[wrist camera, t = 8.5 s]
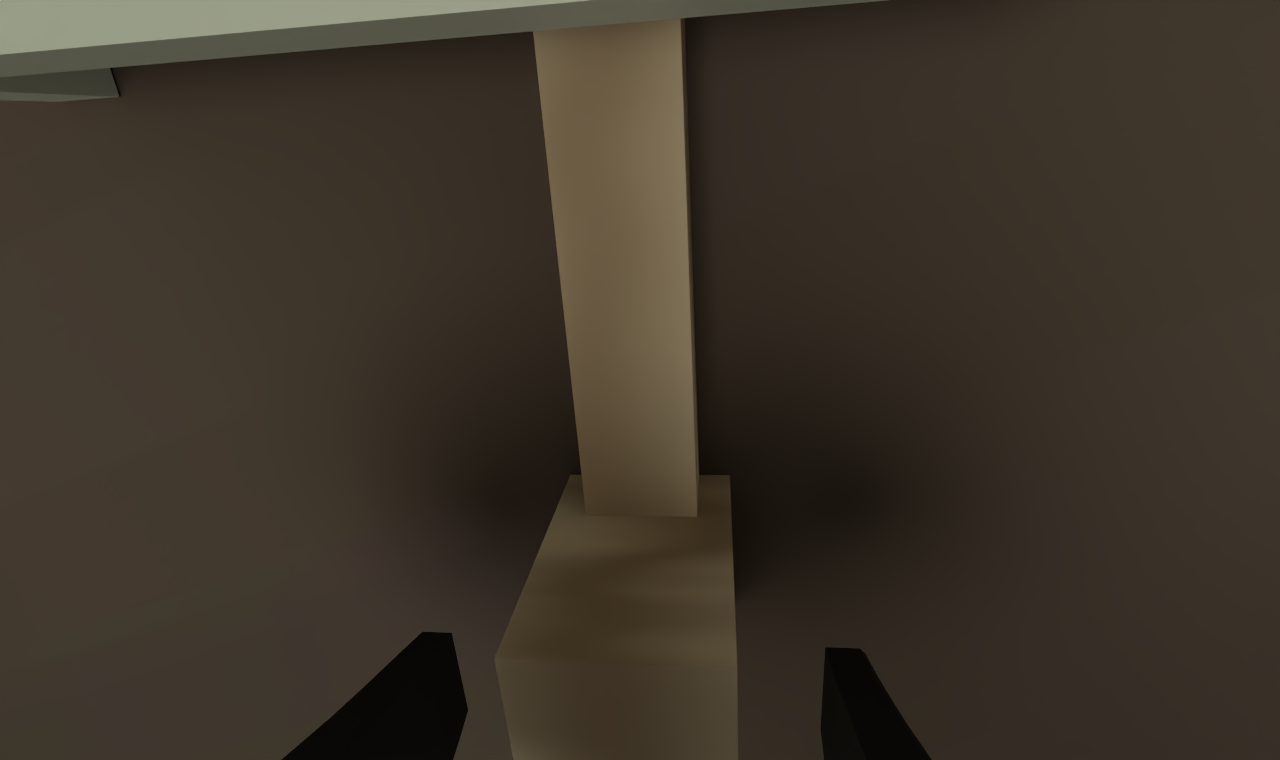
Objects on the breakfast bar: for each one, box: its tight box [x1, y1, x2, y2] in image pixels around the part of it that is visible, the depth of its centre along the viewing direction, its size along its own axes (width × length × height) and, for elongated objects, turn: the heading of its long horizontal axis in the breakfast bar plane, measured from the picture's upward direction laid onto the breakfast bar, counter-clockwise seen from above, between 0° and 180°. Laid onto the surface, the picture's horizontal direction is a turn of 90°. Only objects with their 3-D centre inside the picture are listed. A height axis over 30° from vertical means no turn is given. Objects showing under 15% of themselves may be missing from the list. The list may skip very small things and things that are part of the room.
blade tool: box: [494, 18, 738, 760], centre depth 12 cm, size 7×16×6 cm, turn 4°
